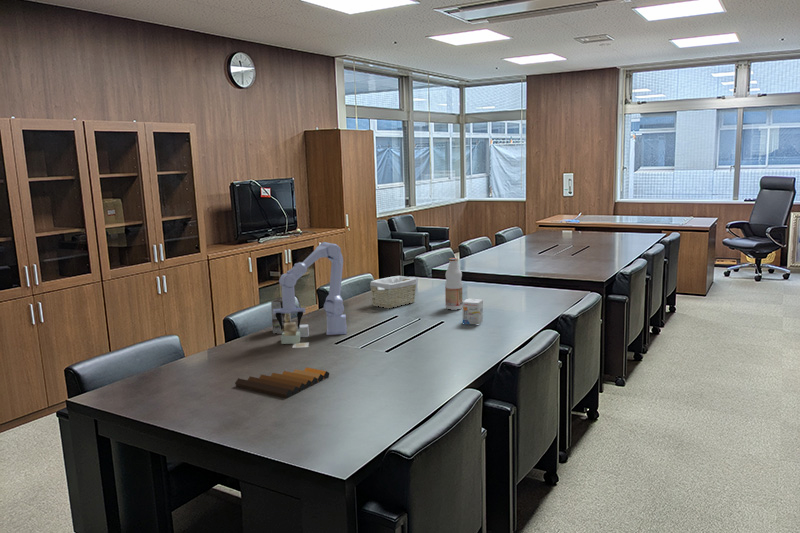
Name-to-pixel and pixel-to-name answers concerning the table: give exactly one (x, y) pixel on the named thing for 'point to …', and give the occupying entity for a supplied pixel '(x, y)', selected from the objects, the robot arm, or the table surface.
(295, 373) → the pan flute
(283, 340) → the base block
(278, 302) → the coffee box
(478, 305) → the ink box
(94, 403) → the table surface
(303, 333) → the grey cube
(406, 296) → the storage basket
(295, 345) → the card
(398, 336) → the table surface
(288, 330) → the maple cube
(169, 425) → the table surface
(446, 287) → the fruit juice
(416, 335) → the table surface
